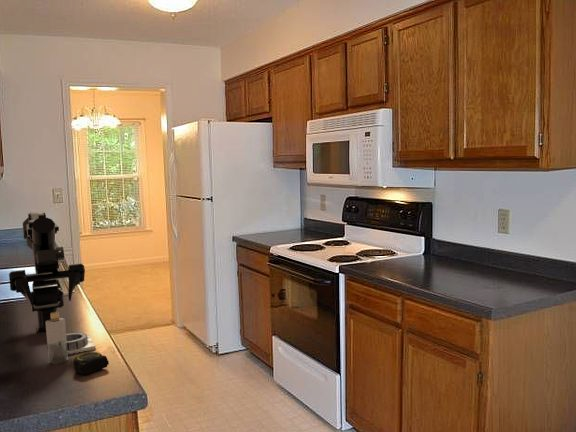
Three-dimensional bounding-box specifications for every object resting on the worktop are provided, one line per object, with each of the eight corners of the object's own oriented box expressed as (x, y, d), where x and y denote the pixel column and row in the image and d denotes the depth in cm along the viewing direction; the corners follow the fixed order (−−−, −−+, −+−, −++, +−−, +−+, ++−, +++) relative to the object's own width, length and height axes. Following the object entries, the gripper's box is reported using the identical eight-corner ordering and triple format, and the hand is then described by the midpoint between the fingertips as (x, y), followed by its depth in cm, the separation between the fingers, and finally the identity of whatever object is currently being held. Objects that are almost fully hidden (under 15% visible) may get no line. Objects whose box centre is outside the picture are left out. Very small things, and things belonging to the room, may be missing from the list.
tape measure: (81, 379, 127) (80, 363, 126) (69, 371, 131) (68, 356, 131) (109, 370, 131) (108, 355, 131) (96, 363, 136) (95, 349, 136)
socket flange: (47, 345, 151) (46, 336, 150) (89, 338, 156) (88, 328, 155) (51, 357, 141) (50, 347, 141) (95, 349, 146) (94, 339, 146)
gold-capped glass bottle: (48, 359, 140) (44, 312, 138) (67, 356, 142) (63, 309, 140) (49, 365, 136) (45, 316, 134) (69, 361, 138) (65, 313, 136)
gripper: (5, 241, 143) (10, 291, 135) (81, 234, 152) (90, 280, 143) (8, 266, 151) (12, 314, 142) (79, 258, 160) (88, 303, 151)
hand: (51, 302), depth 144 cm, fingers open, 9 cm apart
